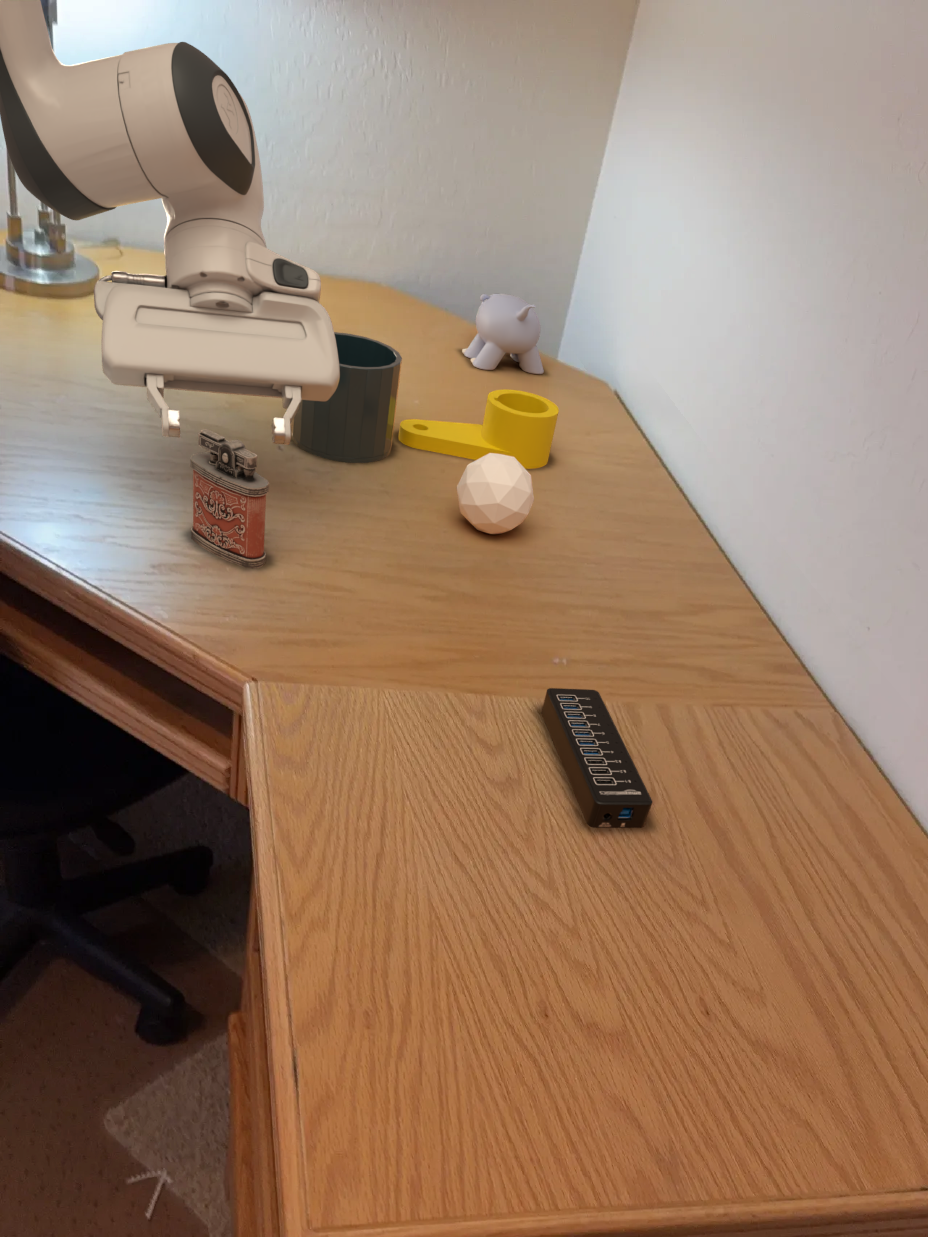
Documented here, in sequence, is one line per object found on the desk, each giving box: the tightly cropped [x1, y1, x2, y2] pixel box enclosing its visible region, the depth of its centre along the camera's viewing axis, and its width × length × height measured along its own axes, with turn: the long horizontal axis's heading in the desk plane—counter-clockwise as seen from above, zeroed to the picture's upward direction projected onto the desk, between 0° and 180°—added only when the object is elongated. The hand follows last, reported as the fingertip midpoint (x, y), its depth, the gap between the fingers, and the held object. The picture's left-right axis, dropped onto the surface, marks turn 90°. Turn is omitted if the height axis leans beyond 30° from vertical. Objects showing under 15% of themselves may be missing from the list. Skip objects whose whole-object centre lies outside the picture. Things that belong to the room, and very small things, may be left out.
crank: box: [397, 388, 560, 470], centre depth 123 cm, size 18×8×6 cm, turn 97°
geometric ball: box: [455, 453, 535, 535], centre depth 107 cm, size 8×8×8 cm
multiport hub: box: [540, 687, 653, 829], centre depth 80 cm, size 4×14×2 cm, turn 12°
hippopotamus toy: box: [461, 293, 545, 375], centre depth 149 cm, size 11×15×10 cm
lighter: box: [190, 429, 270, 569], centre depth 93 cm, size 8×3×10 cm, turn 56°
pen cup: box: [290, 331, 403, 464], centre depth 116 cm, size 11×11×10 cm
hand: (227, 438), depth 92 cm, fingers open, 8 cm apart
